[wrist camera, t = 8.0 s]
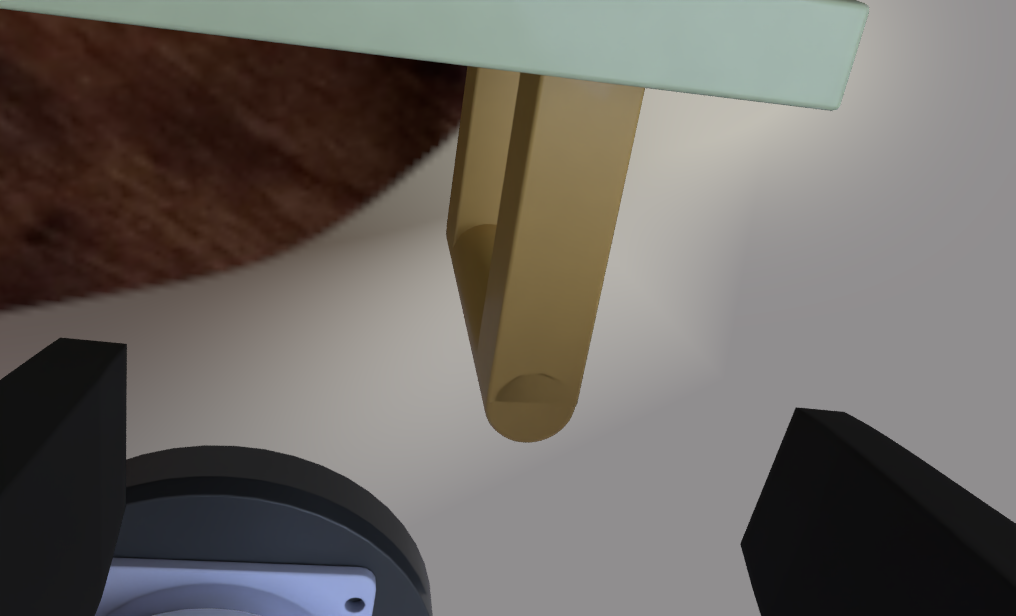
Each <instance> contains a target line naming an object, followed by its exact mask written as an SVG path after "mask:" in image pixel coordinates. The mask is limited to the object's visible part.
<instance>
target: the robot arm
mask: <svg viewBox="0 0 1016 616" xmlns="http://www.w3.org/2000/svg"><path fill="white" fill-rule="evenodd" d="M126 362H127V344H122V343H111V342H101V341H90V340H79V339H69V338H59V339H58V340H56V341H55V342H53V343H52V344H50V345H49V346H47V347H46V348H44V349H43V350H42V351H40V352H39V353H38V354H36V355H35V356H33V357H32V358H31V359H29V360H28V361H26V362H25V363H23V364H22V365H20V366H19V367H18V368H17V369H15V370H14V371H12V372H11V373H9V374H8V375H7V376H5V377H4V378H2V379H1V380H0V616H372V612H373V606H374V599H375V593H376V580H375V576H374V574H373V573H372V571H370V570H368V569H367V568H362V567H350V566H324V565H297V564H271V563H245V562H218V561H192V560H165V559H139V558H113V554H114V550H115V546H116V543H117V539H118V535H119V531H120V527H121V523H122V519H123V515H124V511H125V507H126V374H127V372H126V371H127V366H126V365H127V363H126ZM741 548H742V551H743V555H744V559H745V562H746V566H747V570H748V573H749V577H750V580H751V584H752V588H753V591H754V595H755V598H756V601H757V604H758V607H759V610H760V613H761V616H1016V523H1014V522H1013V521H1011V520H1010V519H1008V518H1007V517H1005V516H1004V515H1002V514H1001V513H999V512H998V511H996V510H995V509H993V508H992V507H990V506H988V504H986V503H985V502H983V501H982V500H980V499H979V498H977V497H976V496H974V495H973V494H971V493H970V492H969V491H967V490H966V489H964V488H963V487H961V486H960V485H958V484H957V483H955V482H954V481H952V480H951V479H950V478H948V477H947V476H945V475H944V474H942V473H941V472H939V471H938V470H936V469H935V468H933V467H932V466H930V465H929V464H927V463H926V462H925V461H923V460H922V459H920V458H919V457H917V456H916V455H914V454H913V453H911V452H910V451H908V450H907V449H905V448H904V447H902V446H901V445H899V444H898V443H896V442H894V441H893V440H891V439H890V438H888V437H887V436H885V435H884V434H882V433H880V432H879V431H877V430H876V429H874V428H872V427H870V426H869V425H867V424H865V423H864V422H862V421H860V420H858V419H856V418H855V417H853V416H851V415H849V414H847V413H845V412H838V411H828V410H817V409H807V408H796V409H795V411H794V413H793V416H792V419H791V421H790V423H789V426H788V428H787V431H786V433H785V436H784V438H783V440H782V443H781V445H780V448H779V450H778V453H777V455H776V458H775V460H774V463H773V465H772V468H771V470H770V472H769V475H768V478H767V480H766V482H765V485H764V487H763V490H762V492H761V495H760V497H759V500H758V502H757V504H756V507H755V510H754V512H753V514H752V517H751V519H750V522H749V524H748V527H747V529H746V531H745V534H744V536H743V539H742V541H741ZM350 598H360V599H361V600H360V601H356V602H352V601H349V599H350Z"/></svg>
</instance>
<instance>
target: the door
mask: <svg viewBox="0 0 1016 616" xmlns="http://www.w3.org/2000/svg"><path fill="white" fill-rule="evenodd" d="M0 9H8V10H16V11H24V12H32V13H40V14H48V15H56V16H65V17H73V18H81V19H89V20H97V21H105V22H113V23H122V24H130V25H138V26H146V27H154V28H162V29H170V30H179V31H187V32H195V33H203V34H211V35H219V36H227V37H236V38H244V39H252V40H260V41H268V42H276V43H284V44H292V45H301V46H309V47H317V48H325V49H333V50H341V51H349V52H358V53H366V54H374V55H382V56H390V57H398V58H406V59H415V60H423V61H431V62H439V63H447V64H455V65H463V66H468V67H467V74H466V82H465V90H464V97H463V105H462V113H461V120H460V128H459V136H458V143H457V151H456V159H455V167H454V174H453V182H452V189H451V197H450V205H449V213H448V220H447V231H446V235H447V241H448V246H449V250H450V255H451V258H452V264H453V268H454V273H455V277H456V282H457V286H458V291H459V296H460V300H461V304H462V309H463V314H464V318H465V323H466V327H467V331H468V336H469V341H470V345H471V350H472V354H473V358H474V363H475V368H476V372H477V376H478V381H479V386H480V391H481V394H482V400H483V404H484V409H485V413H486V417H487V419H488V421H489V423H490V425H491V426H492V427H493V428H494V429H495V430H496V431H497V432H498V433H500V434H501V435H502V436H504V437H506V438H508V439H510V440H513V441H518V442H537V441H541V440H544V439H547V438H549V437H551V436H553V435H555V434H556V433H558V432H559V431H560V430H561V429H562V428H563V427H564V426H565V425H566V424H567V423H568V422H569V420H570V418H571V417H572V414H573V412H574V409H575V407H576V405H577V402H578V397H579V393H580V388H581V383H582V379H583V374H584V369H585V365H586V360H587V355H588V351H589V346H590V341H591V337H592V332H593V328H594V323H595V318H596V313H597V308H598V304H599V299H600V295H601V290H602V286H603V281H604V276H605V272H606V267H607V262H608V258H609V253H610V248H611V244H612V239H613V235H614V230H615V225H616V221H617V216H618V211H619V207H620V202H621V197H622V192H623V188H624V183H625V179H626V174H627V170H628V165H629V160H630V155H631V151H632V146H633V142H634V137H635V132H636V128H637V123H638V118H639V114H640V109H641V104H642V99H643V95H644V90H645V88H651V89H659V90H667V91H676V92H683V93H691V94H700V95H708V96H716V97H724V98H733V99H740V100H748V101H756V102H765V103H773V104H781V105H790V106H798V107H805V108H814V109H821V110H830V111H832V110H837V109H838V108H839V106H840V104H841V101H842V97H843V95H844V91H845V88H846V84H847V82H848V78H849V75H850V72H851V69H852V65H853V62H854V59H855V55H856V52H857V49H858V46H859V43H860V39H861V36H862V33H863V30H864V27H865V23H866V20H867V17H868V14H869V7H868V6H867V5H866V4H865V3H862V2H859V1H856V0H0Z"/></svg>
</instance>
